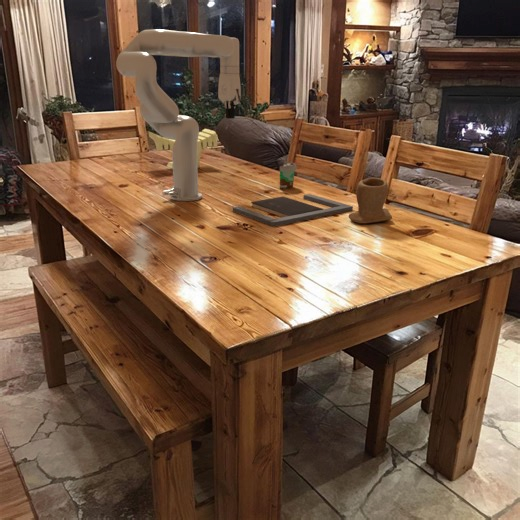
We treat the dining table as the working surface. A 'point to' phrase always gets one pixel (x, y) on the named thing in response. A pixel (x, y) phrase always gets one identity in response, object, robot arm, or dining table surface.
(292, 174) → the food container
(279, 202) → the hardcover book
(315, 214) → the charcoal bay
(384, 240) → the dining table surface
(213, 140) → the slatted curved stool
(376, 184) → the stone cup
